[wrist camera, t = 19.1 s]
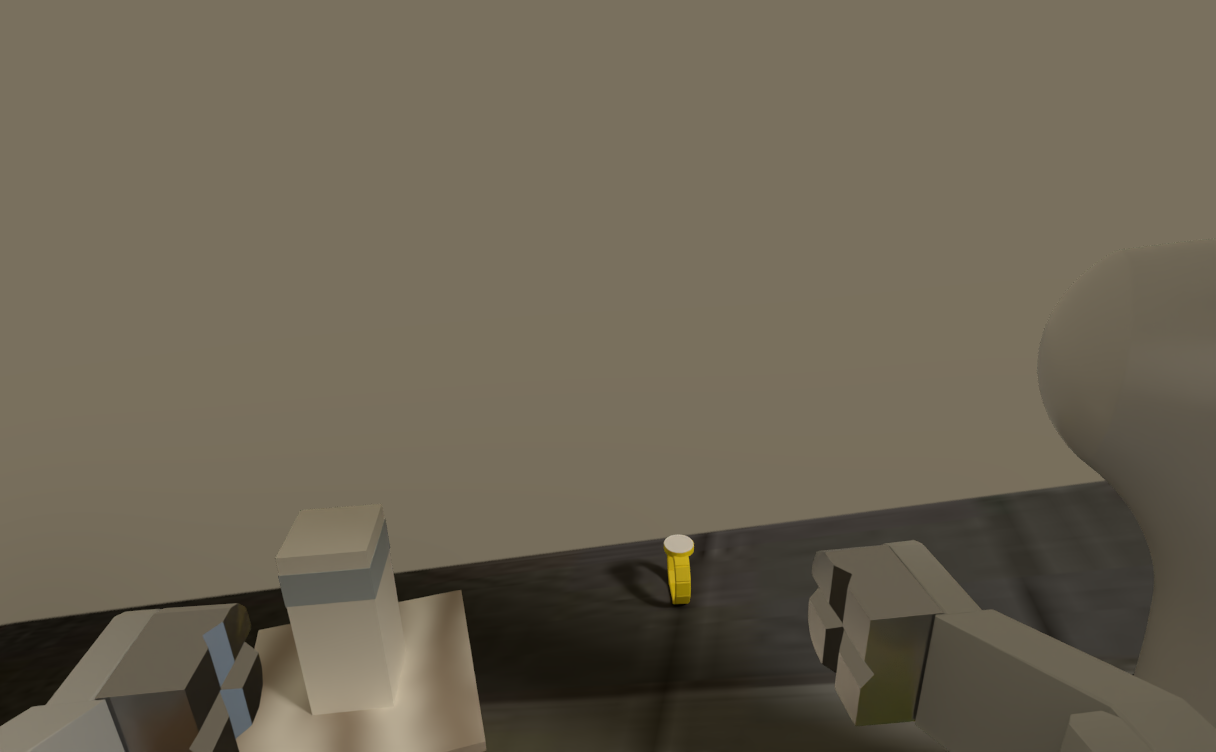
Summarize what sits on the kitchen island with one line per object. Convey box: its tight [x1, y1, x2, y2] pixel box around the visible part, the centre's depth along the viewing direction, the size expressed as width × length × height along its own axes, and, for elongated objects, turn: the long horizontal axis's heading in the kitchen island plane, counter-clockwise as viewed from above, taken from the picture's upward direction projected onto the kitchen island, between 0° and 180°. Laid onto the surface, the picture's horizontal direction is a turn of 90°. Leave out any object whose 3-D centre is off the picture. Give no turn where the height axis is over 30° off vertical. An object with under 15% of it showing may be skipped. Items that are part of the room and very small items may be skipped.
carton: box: [275, 504, 406, 715], centre depth 49 cm, size 6×6×13 cm
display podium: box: [236, 590, 486, 752], centre depth 53 cm, size 16×16×5 cm
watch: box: [664, 535, 694, 604], centre depth 67 cm, size 6×3×6 cm, turn 3°
